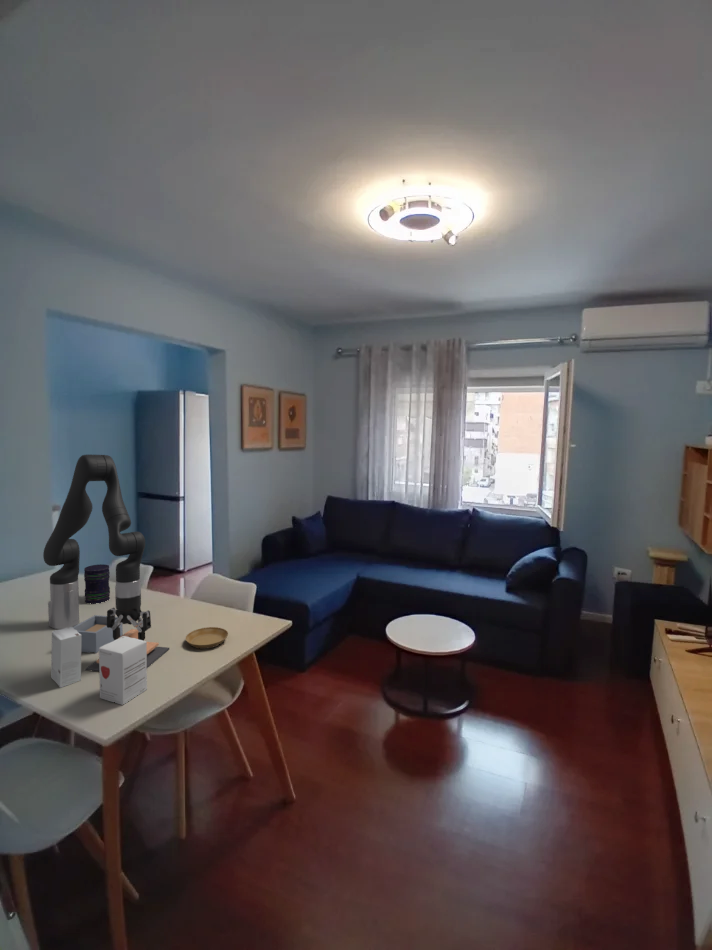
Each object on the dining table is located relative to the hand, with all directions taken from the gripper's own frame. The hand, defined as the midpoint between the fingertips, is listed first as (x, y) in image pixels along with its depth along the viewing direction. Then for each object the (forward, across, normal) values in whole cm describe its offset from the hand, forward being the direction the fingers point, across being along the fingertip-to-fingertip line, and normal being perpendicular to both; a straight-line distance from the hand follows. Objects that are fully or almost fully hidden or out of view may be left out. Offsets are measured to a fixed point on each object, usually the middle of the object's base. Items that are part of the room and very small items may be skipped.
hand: (129, 640), depth 152 cm
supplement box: (+7, +11, -19) cm, 23 cm away
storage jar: (+6, -47, +47) cm, 67 cm away
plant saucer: (+7, +19, +17) cm, 26 cm away
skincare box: (+6, -10, -15) cm, 19 cm away
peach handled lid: (+6, 0, 0) cm, 6 cm away
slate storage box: (+6, -19, +9) cm, 22 cm away
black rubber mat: (+6, 0, 0) cm, 6 cm away
